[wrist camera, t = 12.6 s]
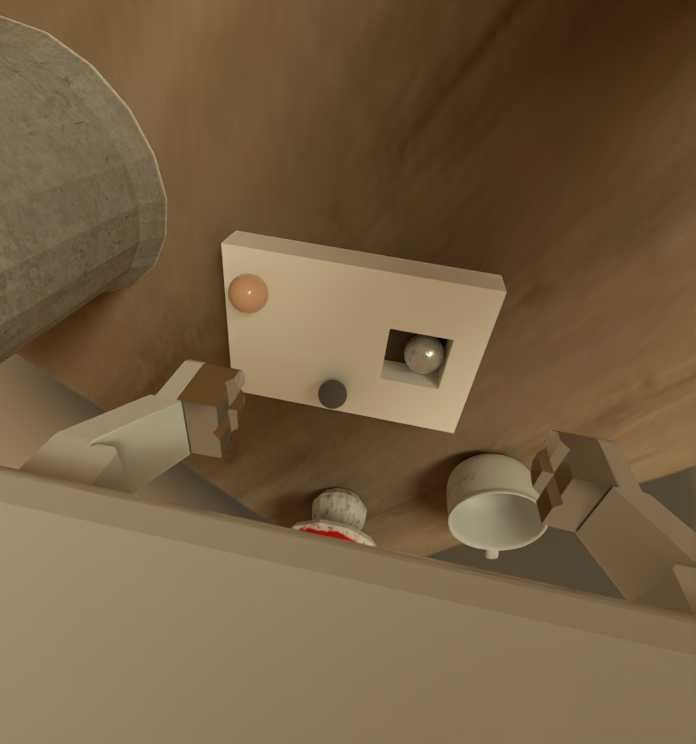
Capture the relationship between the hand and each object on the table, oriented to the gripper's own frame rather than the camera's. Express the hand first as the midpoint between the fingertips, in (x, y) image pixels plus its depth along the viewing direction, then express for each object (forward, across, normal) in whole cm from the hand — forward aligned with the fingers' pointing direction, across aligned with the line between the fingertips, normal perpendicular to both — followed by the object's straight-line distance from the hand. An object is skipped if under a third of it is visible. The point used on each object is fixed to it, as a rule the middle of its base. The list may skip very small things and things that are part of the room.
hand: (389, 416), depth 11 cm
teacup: (+29, -16, +34) cm, 48 cm away
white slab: (+29, +4, +15) cm, 33 cm away
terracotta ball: (+24, +13, +10) cm, 29 cm away
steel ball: (+27, -4, +16) cm, 31 cm away
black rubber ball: (+24, +4, +20) cm, 32 cm away
